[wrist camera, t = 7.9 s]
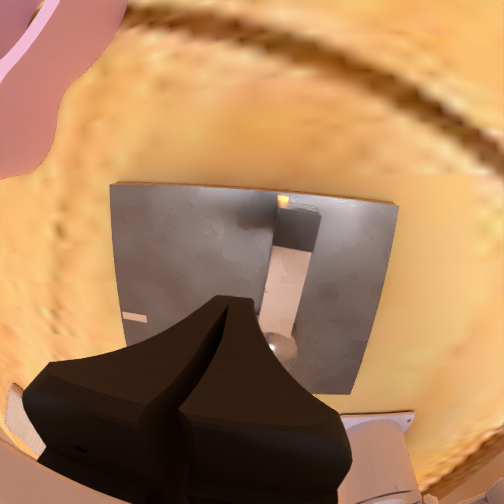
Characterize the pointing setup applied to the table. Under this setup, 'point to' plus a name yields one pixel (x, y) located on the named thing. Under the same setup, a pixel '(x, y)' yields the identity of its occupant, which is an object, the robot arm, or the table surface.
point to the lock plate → (251, 266)
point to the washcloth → (21, 421)
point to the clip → (45, 69)
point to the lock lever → (287, 277)
